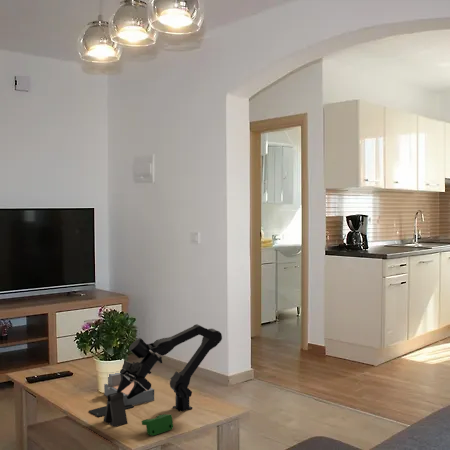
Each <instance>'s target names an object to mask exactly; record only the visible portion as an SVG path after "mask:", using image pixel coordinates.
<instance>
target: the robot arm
mask: <svg viewBox="0 0 450 450" xmlns="http://www.w3.org/2000/svg"><path fill="white" fill-rule="evenodd" d="M197 336H202V340H201V344H200V345H199V346H198V348H197V349H196V351H195V352H194V354H193V355H192V356H191V358H190V359H189V360H188V362H187V363H186V365H185V366H184V367H183V369H182V370H181V371H175V372H174V374H173V375H172V376H171V377H170V381H169V387H170V389H171V390H172V391H173V392H174V393H175V405H173V406H172V409H175V410H176V411H178V412H185V411H189V410H193V407H192V406H191V405H190V397H192V393H193V391H192V390H191V389H190V388H188V387H189V385H190V383H191V382H190V381H191V379H192V376H193V374H194V373H195V371H196V370H197V369H198V368H199V366H200V365H201V363H202V362H203V361H204V359H205V358H206V356H207V355H208V353H209V352H210V351H211V350H213V349H214V348H216V347H218V345H219V343H221V342H222V340H223V335H222V333H221V332H220V331H219V330H217V329H215V328H206V327H204V326H202V325H199V324H198V323H197V324H194V325H193V326H191V327H188V328H187V329H184V330H183V331H180V332H178V333H176V334H174V335H171V336H168V337H162V338H159V339H156V340H155V341H153V342H151V343H146V342H145V341H144V340H143V338H141V337H139V338H138V339H136V340H135V341H133V342H132V343H130V346H129V348H128V350H129V352H131V353H132V354H133V355H134V356H135V357H136V358H137V359H141V360H140V362H139V361H137V362H134V361H133V362H130V361H127V360H124V363H123V364H122V367H121V369H120V373H121V374H120V376H121V381H120V384H119V387H118V389H117V393H118V392H121V391H122V390H124V389H125V388H126V387H127V386H129V385H130V384H131V382H132V381H133V380H134V387H133V388H132V390H131V391H130V393H129V394H128V396H127V399H130V398H132V397H134V396H136V395H138V394H140V393H142V392H144V391H146V390H148V391H149V389H150V388H152V383H151V382H150V381H149V380H148V379H147V378H146V377H147V375H151V373H152V371H151V370H152V369H153V368H154V367H155V365H156V363H159V364H163V359H162V358H163V357H162V356H166V355H167V354H168V353H170V352H172V351H173V350H174V348H176V347H177V346H178V345H181V344H182V343H185V342H187V341H189V340H191V339H193V338H195V337H197ZM157 354H158V355H157ZM159 355H160V356H159ZM130 381H131V382H130ZM145 389H146V390H145Z"/></svg>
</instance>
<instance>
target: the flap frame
mask: <svg viewBox="0 0 450 450" xmlns="http://www.w3.org/2000/svg"><path fill="white" fill-rule="evenodd" d="M103 385H104V386H103V387H104V389H103V391H104V392H103V393H104V394H103V395H104V396H106V397H107V396H108V395H110V394H114V393H117V389H115V388H113V387H111V386H109V385H108V383H104V384H103ZM123 395H124V397H123V400H124V405H125V406H127V405H133V406H136V405H141V404H146V403H149V402H153V401H155V389H154V388H152V387H151V388H150V390H149V391H148V390H147V391H144V392H142V393H140V394H138V395H136V396H134V397H132V398H130V399H127V396H128V395H126V394H124V393H123Z"/></svg>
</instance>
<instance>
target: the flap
mask: <svg viewBox="0 0 450 450" xmlns="http://www.w3.org/2000/svg"><path fill="white" fill-rule="evenodd" d="M120 374H121V373H115V374H109V377H108V376H107V384H108V385H109V386H111V387H113V388H115V389H118V387H119V384H120V381H121V376H120ZM130 382H131V381H130ZM133 387H134V380H133V381H132V382H131V384H130V385H129V386H127V387H126V388H125V389H124V390H122V391H121V392H122V393H124V394H126V395H128V394H129V393H130V391H131V390H132V388H133ZM145 390H146V389H145ZM149 390H150V389H149ZM146 391H147V390H146Z"/></svg>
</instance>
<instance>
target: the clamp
mask: <svg viewBox="0 0 450 450" xmlns="http://www.w3.org/2000/svg"><path fill="white" fill-rule="evenodd" d="M141 425H142V426H146V433H147V435H148V436H157V435H160V434H163V433H166V432H168V431H171V430H173V429H174V422H173V415H172V414H159V415H156V417H154V418H148V419H143V420H141Z"/></svg>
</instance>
